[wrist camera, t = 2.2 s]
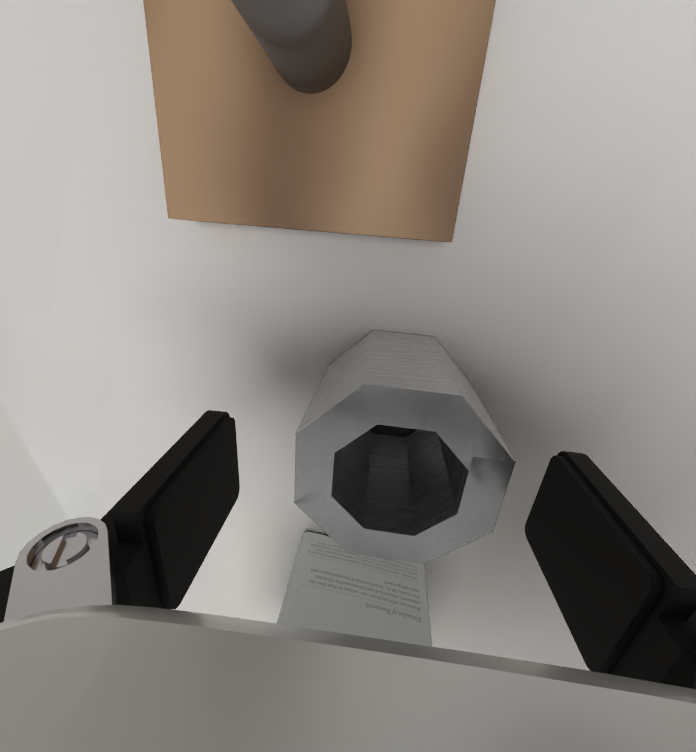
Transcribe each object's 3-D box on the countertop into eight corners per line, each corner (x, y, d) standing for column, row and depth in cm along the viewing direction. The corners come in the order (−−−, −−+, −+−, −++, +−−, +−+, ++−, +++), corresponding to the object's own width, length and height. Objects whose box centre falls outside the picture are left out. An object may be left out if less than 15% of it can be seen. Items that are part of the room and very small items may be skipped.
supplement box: (302, 526, 20) (177, 944, 8) (427, 558, 19) (484, 1031, 8) (284, 606, 22) (173, 1000, 11) (393, 634, 22) (397, 1064, 11)
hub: (479, 340, 14) (535, 403, 9) (450, 464, 17) (479, 573, 11) (330, 325, 15) (296, 375, 9) (323, 447, 17) (292, 544, 12)
